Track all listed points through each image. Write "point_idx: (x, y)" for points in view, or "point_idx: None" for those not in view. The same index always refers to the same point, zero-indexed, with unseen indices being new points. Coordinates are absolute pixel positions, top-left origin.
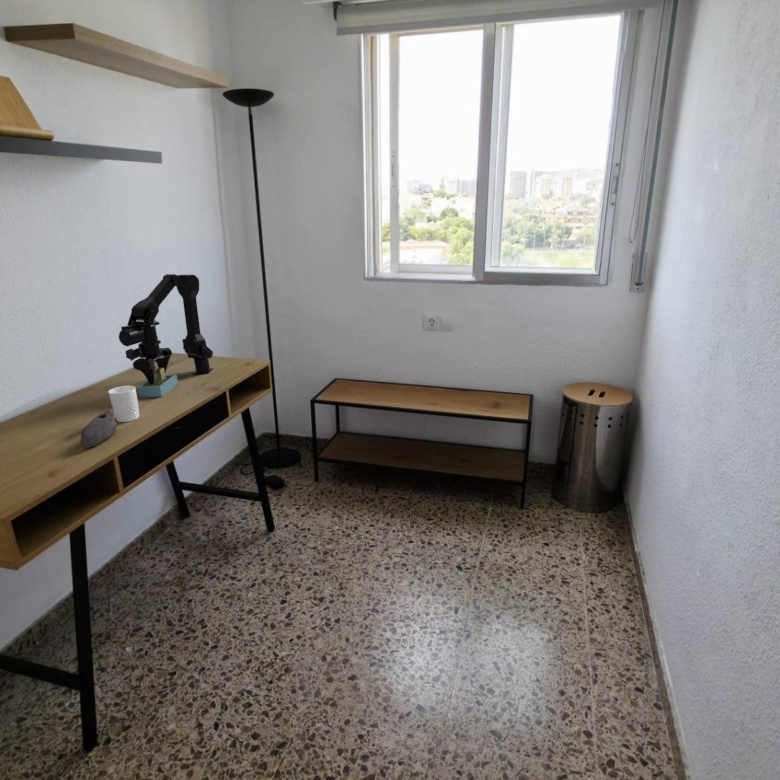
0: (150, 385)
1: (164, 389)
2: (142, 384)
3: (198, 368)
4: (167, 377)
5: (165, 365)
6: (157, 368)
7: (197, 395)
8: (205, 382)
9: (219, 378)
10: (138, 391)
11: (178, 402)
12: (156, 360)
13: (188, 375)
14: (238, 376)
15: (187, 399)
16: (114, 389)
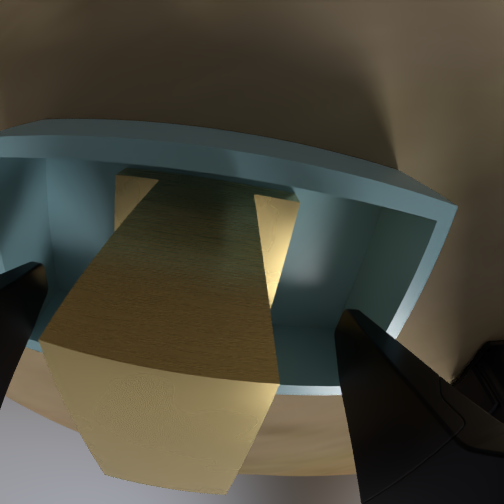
0: (149, 197)
1: None
2: (51, 146)
3: (473, 395)
4: (375, 319)
5: (361, 473)
6: (186, 466)
7: None
8: (305, 429)
9: (340, 448)
10: (8, 129)
11: (16, 368)
12: (484, 484)
13: (485, 325)
14: (329, 473)
15: (53, 395)
16: None
